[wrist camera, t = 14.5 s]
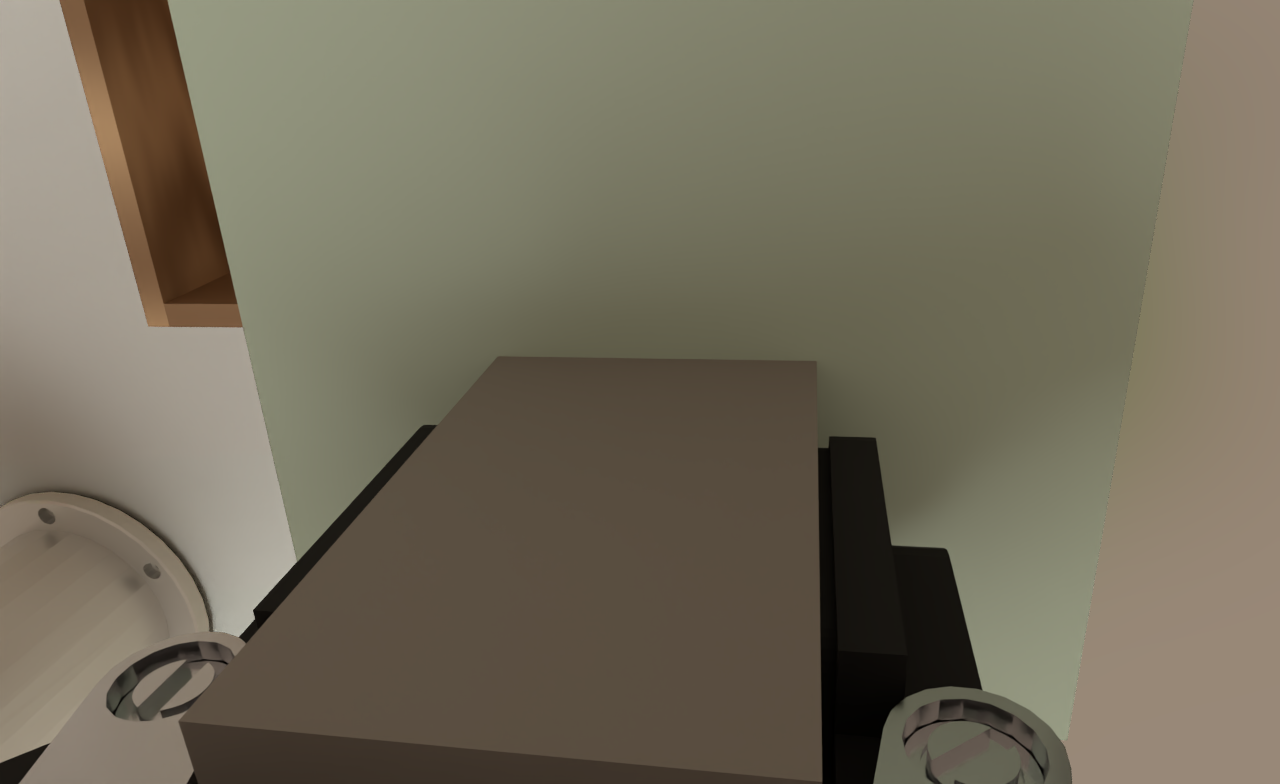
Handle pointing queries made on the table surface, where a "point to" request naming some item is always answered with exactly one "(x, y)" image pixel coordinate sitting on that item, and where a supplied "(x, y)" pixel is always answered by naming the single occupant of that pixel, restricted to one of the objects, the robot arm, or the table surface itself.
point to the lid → (663, 357)
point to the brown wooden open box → (153, 159)
